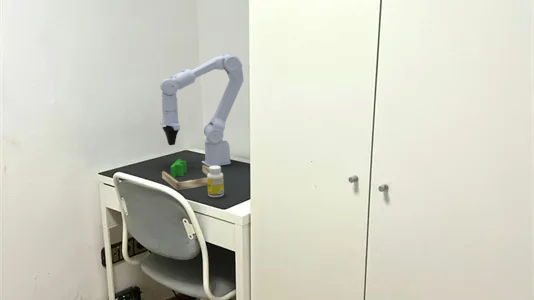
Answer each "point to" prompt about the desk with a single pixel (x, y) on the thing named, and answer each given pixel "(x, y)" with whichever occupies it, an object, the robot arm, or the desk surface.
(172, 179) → the birch bay
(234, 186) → the desk surface
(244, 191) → the desk surface
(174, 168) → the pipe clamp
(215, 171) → the supplement bottle
